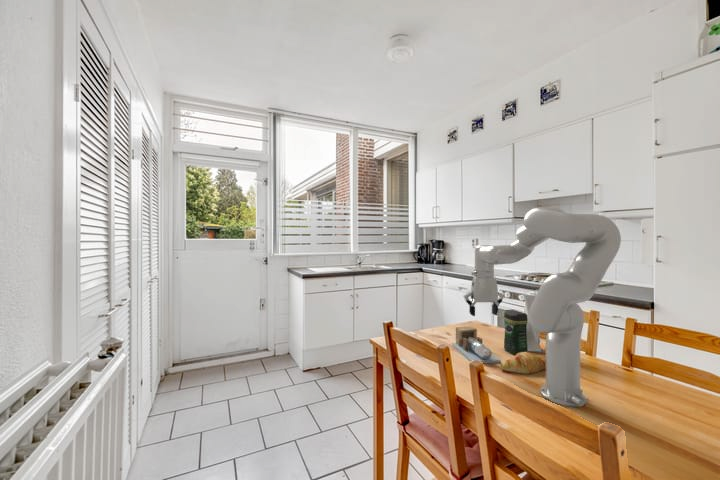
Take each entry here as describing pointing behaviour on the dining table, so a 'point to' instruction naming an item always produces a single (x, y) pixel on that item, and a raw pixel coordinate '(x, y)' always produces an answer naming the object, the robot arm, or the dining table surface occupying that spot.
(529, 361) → the croissant
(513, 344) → the coffee jar
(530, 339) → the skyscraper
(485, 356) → the tube
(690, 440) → the dining table surface
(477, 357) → the board
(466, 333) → the socket
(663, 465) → the dining table surface
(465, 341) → the guide
